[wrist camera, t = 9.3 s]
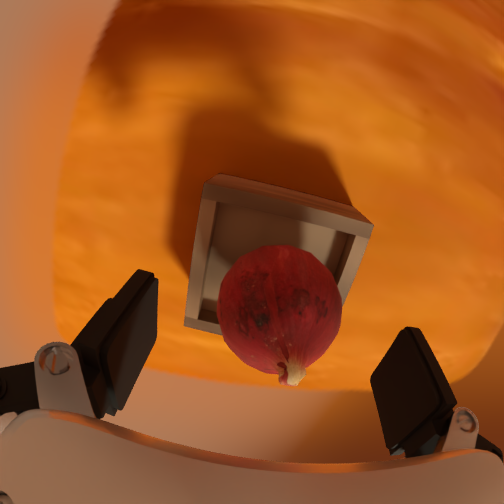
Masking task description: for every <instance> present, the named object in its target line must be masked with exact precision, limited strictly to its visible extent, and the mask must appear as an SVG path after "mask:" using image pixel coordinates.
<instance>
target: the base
mask: <svg viewBox="0 0 504 504" xmlns="http://www.w3.org/2000/svg"><path fill="white" fill-rule="evenodd" d="M373 227H374V225H373V224H372V223H371V222H370V221H369V220H368V219H367V218H366V217H365V216H363V215H362V214H361V213H360V212H359V211H358V210H357V209H355V208H354V207H353V206H350V205H347V204H343V203H340V202H336V201H333V200H329V199H325V198H322V197H318V196H314V195H311V194H307V193H303V192H299V191H295V190H291V189H287V188H283V187H279V186H275V185H271V184H266V183H262V182H258V181H253V180H249V179H244V178H240V177H235V176H230V175H225V174H220V173H219V174H217V175H216V176H214V177H212V178H211V179H209V180H208V181H206V182H205V183H204V186H203V191H202V197H201V203H200V209H199V215H198V221H197V227H196V234H195V241H194V247H193V254H192V262H191V269H190V277H189V284H188V293H187V301H186V310H185V319H184V326H186V327H190V328H194V329H198V330H202V331H206V332H210V333H214V334H218V335H222V331H221V328H220V325H219V321H218V318H217V301H218V296H219V290H220V285H221V282H222V280H223V278H224V276H225V275H226V273H227V272H228V271H229V270H230V268H231V267H232V266H233V265H234V263H235V262H236V261H237V260H238V258H239V257H241V256H243V255H245V254H247V253H249V252H251V251H253V250H255V249H257V248H259V247H261V246H269V245H291V246H294V247H296V248H299V249H302V250H305V251H308V252H310V253H312V254H313V255H314V256H315V257H316V258H317V259H318V260H319V261H320V262H321V263H322V264H323V265H324V266H325V267H326V268H327V269H328V270H329V271H330V272H331V273H332V275H333V277H334V280H335V282H336V285H337V287H338V289H339V292H340V295H341V298H342V306H343V304H344V302H345V299H346V297H347V295H348V292H349V290H350V288H351V285H352V283H353V280H354V278H355V275H356V273H357V270H358V268H359V265H360V262H361V260H362V257H363V255H364V252H365V249H366V246H367V244H368V241H369V238H370V235H371V232H372V230H373Z"/></svg>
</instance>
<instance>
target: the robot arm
mask: <svg viewBox="0 0 504 504" xmlns="http://www.w3.org/2000/svg"><path fill="white" fill-rule="evenodd" d="M157 305H158V279H157V278H154V274H153V273H151V272H148V271H144V270H140V269H138V270H137V271H136V272H135V273H134V274H133V275H132V276H131V278H130V279H129V280H128V281H127V282H126V283H125V285H124V286H123V287H122V288H121V289H120V291H119V292H118V293H117V294H116V295H115V297H114V298H113V299H112V298H109V299H107V300H106V301H105V302H104V304H103V305H102V306H101V307H100V308H99V310H98V311H97V312H96V313H95V315H94V316H93V317H92V318H91V319H90V321H89V322H88V323H87V324H86V326H85V327H84V328H83V330H82V331H81V332H80V333H79V335H78V336H77V337H76V338H75V340H74V341H73V342H72V344H71V345H68V344H67V343H63V342H51V343H48V344H46V345H44V346H42V347H41V348H40V349H39V350H38V351H37V353H36V355H35V360H34V362H30V363H25V364H20V365H15V366H9V367H3V368H0V504H504V464H503V455H502V451H501V450H500V449H499V448H498V447H496V446H495V445H494V444H492V443H491V442H489V441H488V440H486V439H485V438H484V437H482V436H481V435H479V434H478V420H477V418H476V416H475V415H474V414H473V412H471V411H470V410H469V409H467V408H464V407H460V408H457V409H456V410H455V411H454V412H453V409H452V408H453V407H454V406H455V405H456V404H457V401H456V399H455V396H454V394H453V392H452V390H451V388H450V386H449V383H448V381H447V379H446V377H445V375H444V373H443V371H442V369H441V367H440V365H439V363H438V361H437V359H436V357H435V356H434V354H433V352H432V350H431V348H430V346H429V344H428V342H427V341H426V339H425V337H424V335H423V333H422V332H421V330H420V329H419V328H415V327H405V328H404V329H403V330H401V331H400V332H399V334H398V335H397V337H396V339H395V340H394V342H393V343H392V345H391V347H390V348H389V350H388V351H387V353H386V354H385V356H384V357H383V359H382V360H381V362H380V363H379V365H378V366H377V368H376V369H375V371H374V372H373V373H372V375H371V378H370V383H371V387H372V390H373V394H374V398H375V401H376V405H377V409H378V413H379V417H380V421H381V426H382V430H383V434H384V439H385V443H386V447H387V448H388V449H389V451H390V455H399V454H402V453H403V452H405V457H404V459H397V460H389V461H378V462H366V463H346V464H309V463H290V462H277V461H267V460H258V459H251V458H243V457H237V456H231V455H225V454H220V453H214V452H210V451H205V450H200V449H196V448H192V447H188V446H184V445H180V444H176V443H172V442H169V441H165V440H161V439H158V438H155V437H151V436H148V435H145V434H141V433H139V432H136V431H133V430H130V429H127V428H124V427H120V426H118V425H114V424H112V423H109V422H106V421H103V420H100V419H101V418H103V417H104V415H105V413H107V414H110V415H112V416H115V414H116V412H117V410H122V409H123V408H124V406H125V403H126V401H127V399H128V397H129V395H130V393H131V390H132V389H133V386H134V384H135V382H136V380H137V378H138V376H139V374H140V372H141V370H142V368H143V366H144V364H145V362H146V360H147V358H148V356H149V354H150V352H151V350H152V348H153V346H154V344H155V341H156V338H157Z"/></svg>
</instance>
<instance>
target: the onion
mask: <svg viewBox="0 0 504 504" xmlns="http://www.w3.org/2000/svg"><path fill="white" fill-rule="evenodd" d="M341 314H342V298H341V295H340V292H339V289H338V287H337V285H336V282H335V280H334V277H333V275H332V273H331V272H330V271H329V270H328V269H327V268H326V267H325V266H324V265H323V264H322V263H321V262H320V261H319V260H318V259H317V258H316V257H315V256H314V255H313V254H312V253H310V252H308V251H305V250H302V249H299V248H296V247H294V246H291V245H269V246H261V247H259V248H257V249H255V250H253V251H251V252H249V253H247V254H245V255H243V256H241V257H239V258H238V260H237V261H236V262H235V263H234V265H233V266H232V267H231V268H230V270H229V271H228V272H227V273H226V275H225V276H224V278H223V280H222V282H221V285H220V290H219V296H218V301H217V318H218V321H219V325H220V328H221V331H222V335H223V338H224V341H225V342H226V344H227V345H228V347H229V348H230V349H231V350H232V351H233V352H234V353H235V354H236V355H237V356H238V357H239V358H240V359H241V360H242V361H243V362H244V363H246V364H247V365H249V366H251V367H253V368H255V369H257V370H260V371H262V372H264V373H269V374H279V382H280V384H281V385H288V386H297V385H298V384H299V382H300V380H301V379H302V378H303V377H304V376H305V375H306V369H305V368H306V367H308V366H310V365H311V364H312V363H313V362H315V361H316V360H317V359H319V358H320V357H321V356H322V355H323V354H324V353H325V352H326V350H327V349H328V348H329V346H330V345H331V343H332V342H333V340H334V339H335V337H336V335H337V334H338V331H339V328H340V323H341Z"/></svg>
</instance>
